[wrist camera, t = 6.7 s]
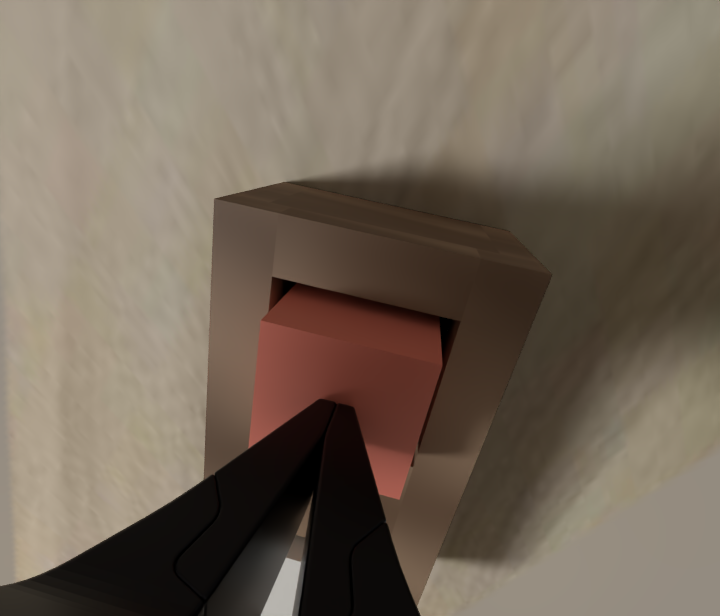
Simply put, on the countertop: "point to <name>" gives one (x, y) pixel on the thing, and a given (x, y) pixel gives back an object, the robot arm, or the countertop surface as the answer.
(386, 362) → the red plug
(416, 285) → the socket block
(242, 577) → the robot arm
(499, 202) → the countertop surface
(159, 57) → the countertop surface
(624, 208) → the countertop surface
